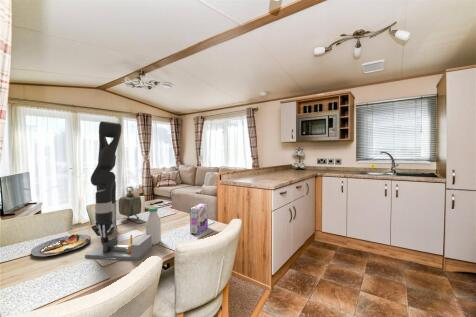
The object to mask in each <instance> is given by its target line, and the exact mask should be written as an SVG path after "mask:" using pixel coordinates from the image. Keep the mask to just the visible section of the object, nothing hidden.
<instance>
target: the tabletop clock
mask: <svg viewBox="0 0 476 317" xmlns="http://www.w3.org/2000/svg"><path fill="white" fill-rule="evenodd" d="M128 189H131V190H132V191H131V190H128ZM126 192H127V193H126V195H125V196H121V197H120V198H119V199H118V213H119V214H120V215H121V216H125V217H127V218H126V221H129V218H130V217H132V216H135V217H136V219H137V220H139V219H140V217H139V216H137V215H139V214H141V213H142V199H141V196H140V195H135V194H134V193H133V192H134V188H133V187H132V186H127V187H126Z"/></svg>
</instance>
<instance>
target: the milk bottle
mask: <svg viewBox="0 0 476 317" xmlns="http://www.w3.org/2000/svg"><path fill="white" fill-rule="evenodd" d="M158 210H159V208H158V207H157V206H151V207H149V208H148V212H149V214H148V217H147V219H146V226H145V229H146V230H145V233H146V234H145V235H151V238H152V246H154V245H157V244H160V243H161V241H162V231H161V230H162V229H161V228H162V226H161V218H160V216H159V214H158ZM159 242H160V243H159Z"/></svg>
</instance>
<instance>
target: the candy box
mask: <svg viewBox="0 0 476 317" xmlns="http://www.w3.org/2000/svg"><path fill="white" fill-rule="evenodd" d="M208 206H209V205H208V204H207V203H199V204H197V205H195V206H193V207H192V206H191V208H190V209H189V224H190V225H189V233H193V234H192V235H196V234H198V235H200V234H201V233H202V232H204V231H205V230H206V229H208V228H209V225H208V224H209V216H208V214H209V213H208V210H209V209H208ZM203 230H204V231H203ZM200 232H201V233H200ZM199 233H200V234H199Z"/></svg>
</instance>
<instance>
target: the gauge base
mask: <svg viewBox="0 0 476 317" xmlns="http://www.w3.org/2000/svg"><path fill="white" fill-rule="evenodd" d="M132 243H133V242H132ZM130 245H131V252H130V253H126V251H116V250H111V251H109V252H108V253H103V244H102V243H101V244H100V245H99V246H97V247H95V248H93V249H92V250H90V251H89V252H87V253H86V254H84V258H86V259H100V258H116V259H115V260H117V259H121V261H135V262H138V261H141V259H143V257H145V256H146V255H148V253H149V252H150V251H152V247H153V245H152V238H151V235H146V234H144V235H142V236H141V237H140V238H138V239H137V240H136V241H134V243H133V244H131V243H130Z"/></svg>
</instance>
